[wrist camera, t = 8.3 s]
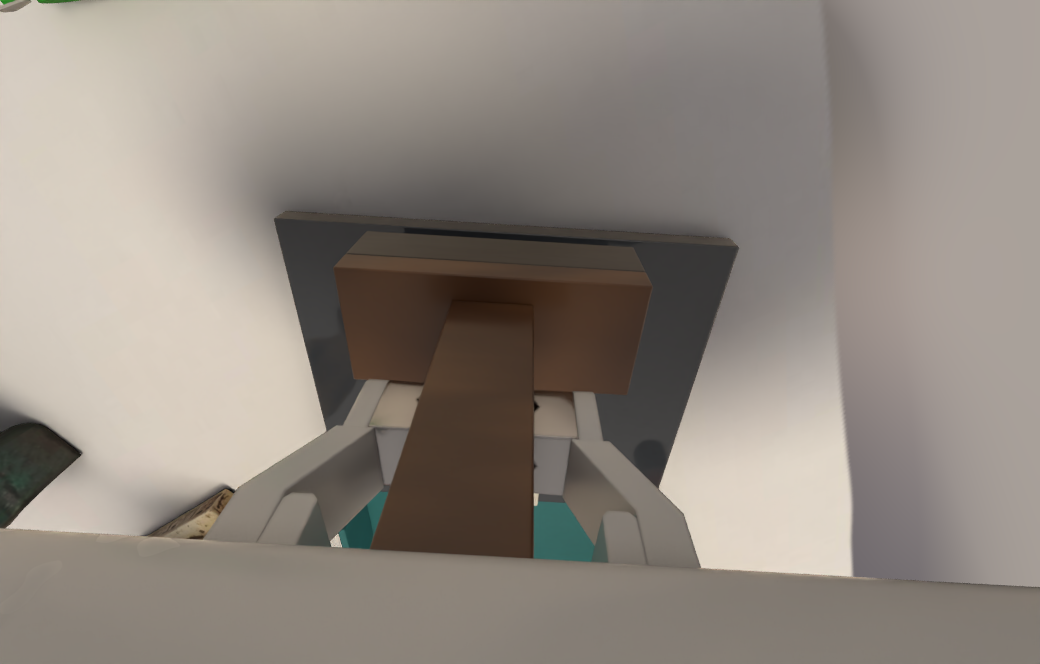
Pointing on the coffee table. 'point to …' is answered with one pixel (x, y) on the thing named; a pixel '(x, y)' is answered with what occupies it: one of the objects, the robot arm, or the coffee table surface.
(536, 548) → the dustpan
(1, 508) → the ceramic cat
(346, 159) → the coffee table surface
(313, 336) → the slate board
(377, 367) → the brush
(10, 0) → the toy car
